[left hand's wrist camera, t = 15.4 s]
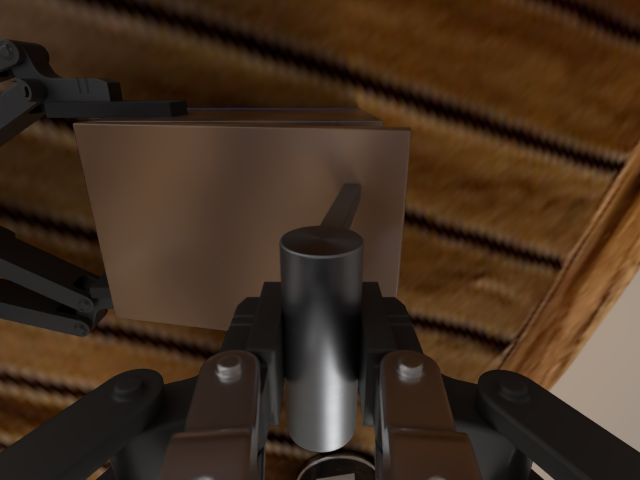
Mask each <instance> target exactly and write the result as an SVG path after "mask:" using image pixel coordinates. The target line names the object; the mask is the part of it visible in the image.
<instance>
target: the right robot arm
mask: <svg viewBox="0 0 640 480" xmlns="http://www.w3.org/2000/svg"><path fill="white" fill-rule="evenodd" d="M48 62H49V54H48V52H47V50H46V49H45V48H44V47H43V46H41V45H39V44H35V43H28V42H21V41H15V40H8V39H0V82H3V81H6V80H8V79H11V78H13V79H11V80H10V81H11V82H17V83H16V84H15V85H13V86H12V87H11V88H9V89H8V90H7V91H5V92H4V93H3V94H1V95H0V147H1V146H2V145H3V144H5V143H6V142H8V141H9V140H10V139H12V138H13V137H14V136H16V135H17V134H19V133H20V132H21V131H23V130H24V129H26V128H27V127H28V126H30V125H31V124H33V123H34V122H35V121H37V120H38V119H40V118H41V117H42V116H44V115H45V114H46V115H47V118H109V117H174V116H179V115H183V114H188V113H187V105H186V100H122V94H121V88H120V83H119V82H117V81H114V80H112V79H101V78H62V77H60V76H58V75H57V74H56V73H55V72H54V71H53V70H52V68H51V66H50V65H49V63H48ZM14 77H16V78H14ZM0 276H1V277H3V278H5V279H1V278H0V318H1V319H6V320H10V321H14V322H19V323H23V324H28V325H32V326H36V327H41V328H45V329H50V330H54V331H58V332H63V333H67V334H72V335H76V336H86V335H88V334H89V333H90V331H91V330H92V329H93V328H94V327H95V326H96V325H97V324H98V323H99V322H100V320H101V319H102V318H103V317H104V316H105V315H106V314H107V312H108V310H107V309H114V307H113V302H112V298H111V293H110V289H109V284H108V280H107V276H106V273H105V274H104V275H103V276H101V277H99V276H97V275H95V274H93V273H90V272H88V271H86V270H84V269H82V268H80V267H77V266H75V265H73V264H71V263H69V262H67V261H64V260H62V259H60V258H58V257H56V256H54V255H51V254H49V253H47V252H45V251H43V250H40V249H38V248H36V247H34V246H32V245H30V244H27V243H25V242H23V241H21V240H19V239H17V238H16V237H15V233H14V232H12V231H11V230H8V229H6V228H4V227H2V226H0ZM6 279H8V280H6Z"/></svg>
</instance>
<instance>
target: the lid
mask: <svg viewBox="0 0 640 480" xmlns="http://www.w3.org/2000/svg"><path fill="white" fill-rule="evenodd" d="M73 128H74V133H75V137H76V142H77V146H78V151H79V155H80V159H81V164H82V168H83V173H84V177H85V182H86V186H87V191H88V195H89V200H90V204H91V209H92V213H93V217H94V222H95V226H96V231H97V235H98V240H99V244H100V249H101V253H102V258H103V262H104V267H105V271H106V276H107V280H108V284H109V289H110V293H111V298H112V302H113V307H114V311H115V316H116V317H117V318H125V319H133V320H141V321H150V322H158V323H166V324H175V325H183V326H191V327H200V328H208V329H216V330H225V331H228V329H229V326H230V323H231V321H232V318H233V315H234V313H235V310H236V307H237V305H238V304H240V303H241V302H242V301H243V300H244V299H245V298H246V297H260V294H261V291H262V287H263V284H264V282H281V298H282V320H283V344H284V368H285V395H286V419H287V430H288V433H289V435H290V437H291V438H292V439H293V441H294V442H295V443H296V444H297V445H299V446H300V447H302V448H304V449H306V450H309V451H312V452H319V453H324V452H331V451H334V450H337V449H339V448H341V447H343V446H344V445H346V444H347V443H348V442H349V441H350V439H351V438H352V436H353V435H354V432H355V429H356V415H357V392H358V358H359V335H360V313H361V303H362V282H378V284H379V287H380V291H381V294H382V297H395V298H397V299H398V287H399V275H400V263H401V251H402V239H403V227H404V215H405V203H406V191H407V179H408V167H409V155H410V143H411V128H409V127H359V126H307V125H255V124H203V123H151V122H98V121H86V122H78V123H74V124H73Z"/></svg>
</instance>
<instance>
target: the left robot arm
mask: <svg viewBox="0 0 640 480" xmlns="http://www.w3.org/2000/svg"><path fill="white" fill-rule="evenodd" d="M284 379H285V368H284V344H283V320H282V298H281V282H264V284H263V287H262V291H261V294H260V297H246V298H245V299H244V300H243V301H242V302H241V303H240V304H238V305H237V307H236V310H235V313H234V315H233V318H232V321H231V323H230V326H229V329H228V331H227V334H226V337H225V339H224V342H223V344H222V347H221V350H220V352H219V353H218V354H215V355H213V356H212V357H210V358H209V359H208V360H206V361H205V362H204V364H203V365H202V367H201V369H200V372H199V375H197V376H195V377H192V378H189V379H186V380H182V381H177V382H173V383H168V384H164V382H163V378H162V376H161V375H160V374H159V373H158V372H156V371H154V370H150V369H135V370H130V371H126V372H123V373H121V374H119V375H116V376H114V377H113V378H111V379H109V380H108V381H106V382H105V383H103V384H102V385H100V386H99V387H97V388H96V389H94V390H93V391H91V392H90V393H88V394H87V395H85V396H84V397H82V398H81V399H79V400H78V401H76V402H75V403H73V404H72V405H71V406H69V407H68V408H66V409H65V410H63V411H62V412H60V413H59V414H57V415H56V416H54V417H53V418H51V419H50V420H48V421H47V422H45V423H44V424H42V425H41V426H39V427H38V428H36V429H35V430H33V431H32V432H30V433H29V434H27V435H26V436H24V437H23V438H21V439H20V440H18V441H17V442H15V443H14V444H12V445H11V446H9V447H8V448H6V449H5V450H3V451H2V452H0V480H86V479H87V478H88V477H89V476H90V475H91V474H93V473H94V472H95V471H96V470H97V469H98V468H100V467H101V466H102V465H103V464H104V463H106V462H107V461H108V460H109V459H110V462H111V465H112V466H111V467H110V468H109V469H108V470H107V471H106V472H104V473H103V474H102V475H101V476H100V477H99V478H97V479H96V480H265V457H266V450H265V443H266V440H267V435H268V428H269V426H279V421H280V413H281V404H282V396H283V388H284ZM358 386H359V394H360V402H361V410H362V418H363V425H364V426H374V430H375V450H374V457H375V463H374V462H373V461H372V460H371V459H369V458H367V457H366V456H364V455H361V454H358V453H355V452H350V451H332V452H326V453H323V454H320V455H317V456H315V457H313V458H312V459H310V460H309V461H307V462H306V463H305V464H304V465H303V466H302V467H301V469H300V470H299V472H298V474H297V477H296V480H544V479H543V478H541V477H540V476H539V475H538V474H537V473H536V472H534V471H533V470H532V469H531V467H532V463H533V462H534V463H536V464H537V465H538V466H539V467H540V468H542V469H543V470H544V471H545V472H546V473H547V474H549V475H550V476H551V477H552V478H553V479H554V480H640V452H638V451H637V450H635V449H634V448H632V447H631V446H629V445H628V444H626V443H625V442H623V441H622V440H620V439H619V438H617V437H616V436H614V435H613V434H611V433H610V432H608V431H607V430H605V429H604V428H602V427H601V426H599V425H598V424H596V423H595V422H593V421H592V420H590V419H589V418H587V417H586V416H584V415H583V414H581V413H580V412H578V411H577V410H575V409H574V408H572V407H571V406H569V405H568V404H566V403H565V402H563V401H562V400H561V399H559V398H558V397H556V396H555V395H553V394H552V393H550V392H549V391H547V390H546V389H544V388H543V387H541V386H540V385H538V384H537V383H535V382H534V381H532V380H530V379H529V378H527V377H525V376H523V375H521V374H518V373H515V372H511V371H507V370H491V371H488V372H485V373H484V374H482V375H481V376H480V378H479V380H478V384H474V383H469V382H465V381H460V380H456V379H453V378H450V377H447V376H445V375H443V374H441V372H440V369H439V366H438V365H437V364H436V362H435V361H434V360H432V359H431V358H430V357H428V356H427V355H425V354H423V351H422V348H421V346H420V343H419V341H418V338H417V336H416V333H415V330H414V328H413V326H412V323H411V320H410V318H409V315H408V312H407V310H406V307H405V305H404V304H402V303H401V302H400V301H399V300H398V299H397V298H395V297H382V294H381V291H380V287H379V284H378V282H362V303H361V313H360V335H359V358H358Z"/></svg>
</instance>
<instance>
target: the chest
mask: <svg viewBox="0 0 640 480" xmlns="http://www.w3.org/2000/svg"><path fill="white" fill-rule="evenodd" d="M187 113H188V114H183V115H179V116H174V117H109V118H103V119H97V120H90V121H98V122H151V123H203V124H255V125H307V126H359V127H382V126H383V121H382V120H380V119H378V118H376V117H374V116H372V115H371V114H369V113H367V112H365V111H363V110H361V109H360V108H187Z"/></svg>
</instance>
